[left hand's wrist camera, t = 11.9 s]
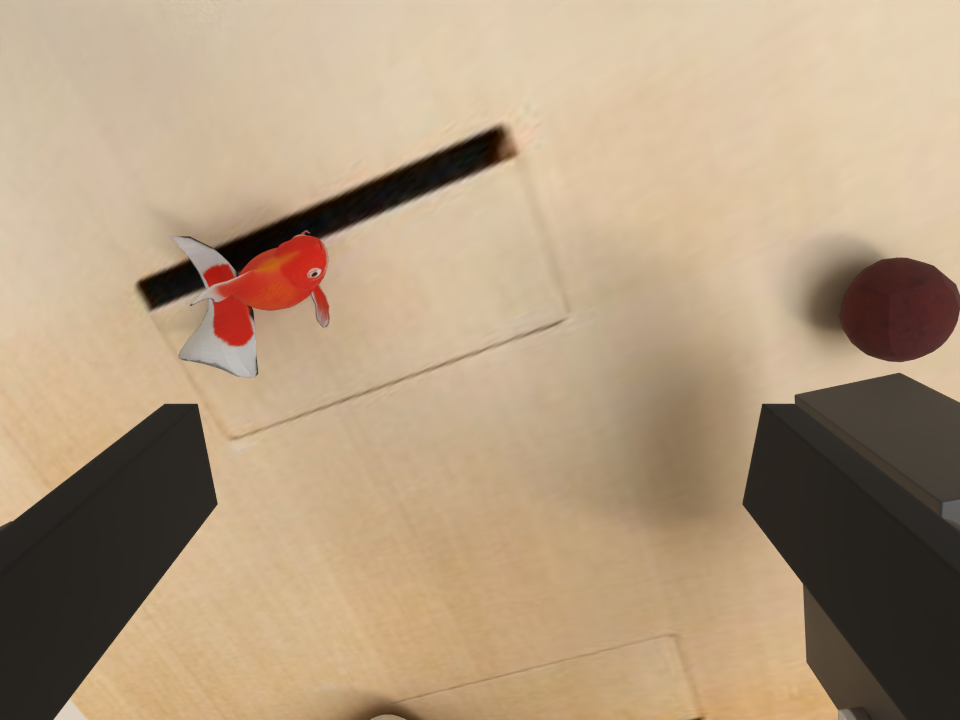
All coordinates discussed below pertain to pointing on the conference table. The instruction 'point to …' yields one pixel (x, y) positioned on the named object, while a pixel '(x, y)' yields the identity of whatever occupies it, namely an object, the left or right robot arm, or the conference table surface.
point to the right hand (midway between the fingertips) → (913, 703)
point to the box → (907, 460)
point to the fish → (250, 298)
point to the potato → (900, 309)
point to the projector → (387, 717)
